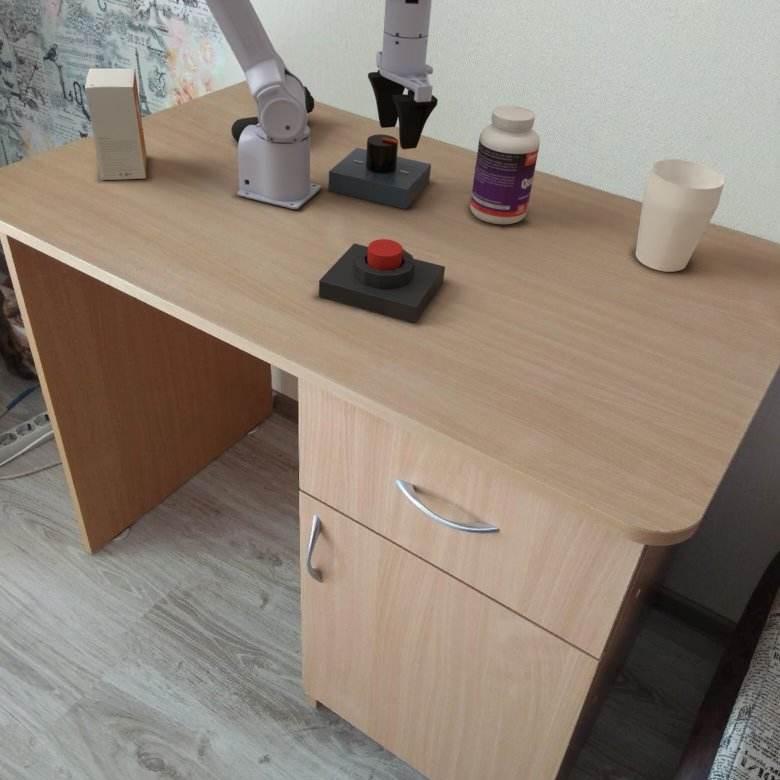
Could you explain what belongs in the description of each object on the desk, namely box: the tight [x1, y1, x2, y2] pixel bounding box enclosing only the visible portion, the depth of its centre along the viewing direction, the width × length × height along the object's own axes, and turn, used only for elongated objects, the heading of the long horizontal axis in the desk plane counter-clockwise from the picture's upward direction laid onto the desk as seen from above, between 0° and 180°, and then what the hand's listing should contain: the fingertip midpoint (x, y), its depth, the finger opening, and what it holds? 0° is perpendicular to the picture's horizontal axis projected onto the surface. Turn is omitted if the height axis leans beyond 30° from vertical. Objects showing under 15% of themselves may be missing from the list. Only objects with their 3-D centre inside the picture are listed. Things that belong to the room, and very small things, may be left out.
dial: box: [366, 134, 399, 173], centre depth 111 cm, size 4×4×4 cm
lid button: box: [367, 238, 404, 270], centre depth 90 cm, size 4×4×2 cm
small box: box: [84, 67, 148, 181], centre depth 109 cm, size 8×6×13 cm
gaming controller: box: [230, 85, 315, 143], centre depth 126 cm, size 17×6×10 cm
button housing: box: [318, 242, 446, 324], centre depth 91 cm, size 12×10×4 cm
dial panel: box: [328, 147, 432, 210], centre depth 113 cm, size 12×10×3 cm
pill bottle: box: [469, 105, 541, 225], centre depth 105 cm, size 8×8×14 cm
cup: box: [635, 158, 726, 273], centre depth 99 cm, size 9×9×12 cm
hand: (397, 137), depth 107 cm, fingers open, 7 cm apart
